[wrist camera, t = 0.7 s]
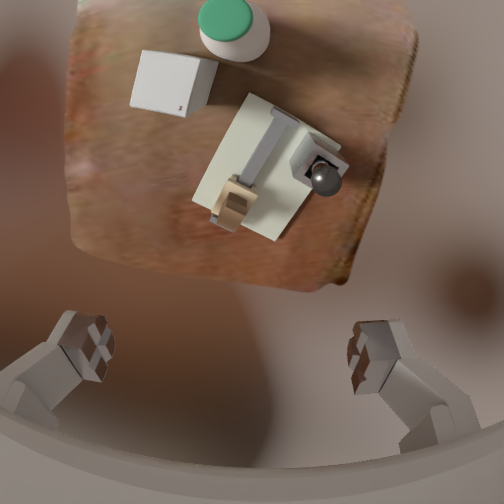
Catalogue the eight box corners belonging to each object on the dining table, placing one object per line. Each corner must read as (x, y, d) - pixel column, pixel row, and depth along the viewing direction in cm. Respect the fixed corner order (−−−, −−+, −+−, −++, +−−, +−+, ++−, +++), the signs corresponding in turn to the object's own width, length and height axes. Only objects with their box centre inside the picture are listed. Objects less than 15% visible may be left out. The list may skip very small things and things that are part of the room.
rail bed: (249, 92, 40) (247, 94, 36) (339, 144, 44) (347, 153, 40) (193, 197, 50) (186, 210, 46) (274, 237, 54) (275, 253, 50)
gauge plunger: (313, 145, 40) (323, 162, 33) (334, 158, 40) (347, 178, 34) (299, 165, 41) (306, 187, 35) (320, 178, 42) (330, 201, 36)
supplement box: (220, 61, 37) (203, 58, 27) (206, 106, 42) (186, 120, 31) (173, 51, 36) (141, 48, 26) (161, 95, 40) (127, 107, 30)
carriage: (230, 173, 46) (223, 194, 39) (258, 187, 47) (257, 211, 41) (213, 203, 49) (205, 228, 43) (240, 216, 50) (236, 243, 44)
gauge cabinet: (306, 129, 43) (315, 143, 36) (337, 148, 44) (351, 167, 37) (288, 157, 46) (293, 177, 38) (318, 175, 47) (328, 198, 40)
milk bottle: (265, 12, 33) (264, -28, 16) (272, 59, 37) (278, 51, 21) (212, 20, 34) (172, -11, 17) (220, 66, 38) (186, 66, 21)
